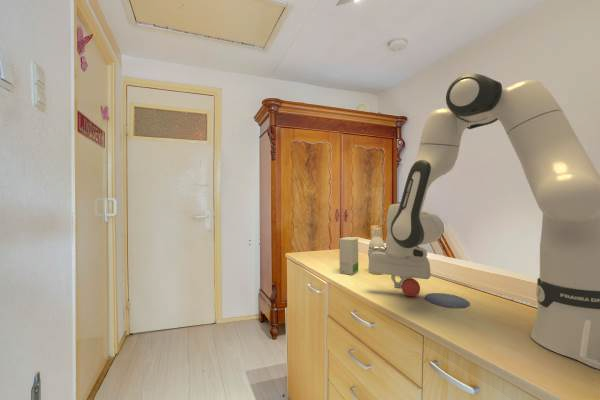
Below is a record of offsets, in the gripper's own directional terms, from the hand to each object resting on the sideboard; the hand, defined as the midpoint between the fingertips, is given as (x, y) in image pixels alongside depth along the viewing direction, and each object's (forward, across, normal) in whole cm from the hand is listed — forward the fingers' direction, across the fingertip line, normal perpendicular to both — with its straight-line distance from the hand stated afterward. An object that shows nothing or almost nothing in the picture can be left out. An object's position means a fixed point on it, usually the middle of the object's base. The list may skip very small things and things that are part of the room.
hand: (397, 288), depth 96 cm
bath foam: (+3, -9, +28) cm, 29 cm away
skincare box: (+4, -21, +24) cm, 32 cm away
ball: (-1, +4, 0) cm, 4 cm away
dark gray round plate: (+2, +15, 0) cm, 15 cm away
